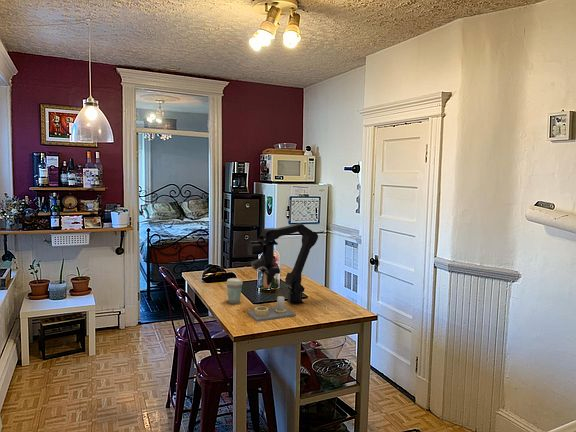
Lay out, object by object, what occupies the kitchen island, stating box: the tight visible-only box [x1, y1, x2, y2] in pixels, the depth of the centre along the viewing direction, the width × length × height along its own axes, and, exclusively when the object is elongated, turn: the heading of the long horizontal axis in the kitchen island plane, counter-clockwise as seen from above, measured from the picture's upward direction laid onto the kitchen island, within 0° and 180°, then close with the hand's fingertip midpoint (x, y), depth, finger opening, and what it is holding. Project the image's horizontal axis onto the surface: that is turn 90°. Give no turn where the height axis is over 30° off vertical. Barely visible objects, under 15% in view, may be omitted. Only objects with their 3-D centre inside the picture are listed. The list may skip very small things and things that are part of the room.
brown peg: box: [263, 271, 271, 289], centre depth 220 cm, size 4×4×8 cm
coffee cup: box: [225, 277, 244, 305], centre depth 226 cm, size 8×9×12 cm
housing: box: [246, 295, 297, 323], centre depth 209 cm, size 20×13×8 cm, turn 116°
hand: (267, 283), depth 220 cm, fingers closed on brown peg, 3 cm apart
